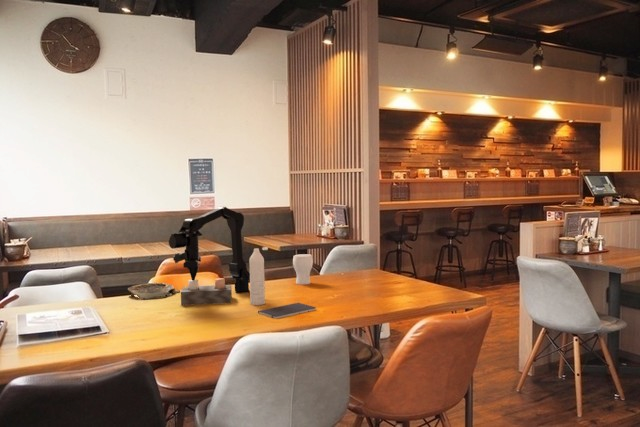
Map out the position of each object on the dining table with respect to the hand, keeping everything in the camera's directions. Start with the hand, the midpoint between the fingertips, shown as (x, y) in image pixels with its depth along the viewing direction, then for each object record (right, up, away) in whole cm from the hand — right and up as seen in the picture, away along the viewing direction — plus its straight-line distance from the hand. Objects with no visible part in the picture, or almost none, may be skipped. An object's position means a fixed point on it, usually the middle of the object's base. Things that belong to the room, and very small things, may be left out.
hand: (193, 280), depth 244 cm
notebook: (+45, -11, -20) cm, 50 cm away
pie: (-26, -10, +20) cm, 34 cm away
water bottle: (+31, -10, -5) cm, 33 cm away
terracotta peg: (+12, -6, +2) cm, 13 cm away
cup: (+49, -7, +40) cm, 64 cm away
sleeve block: (+6, -10, +1) cm, 12 cm away
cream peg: (0, -6, 0) cm, 6 cm away
